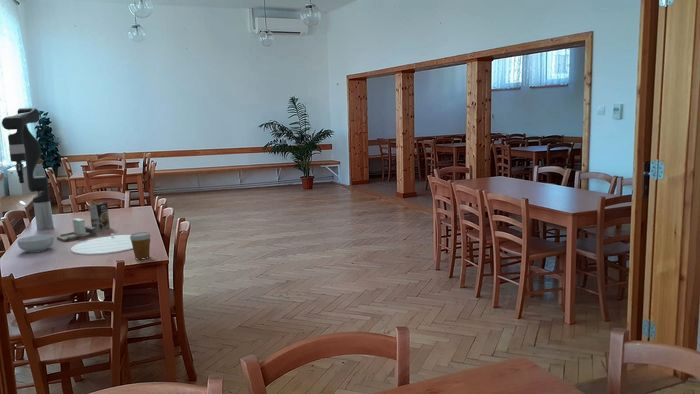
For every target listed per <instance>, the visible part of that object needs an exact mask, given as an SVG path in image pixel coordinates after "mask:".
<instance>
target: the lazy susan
mask: <svg viewBox="0 0 700 394" xmlns="http://www.w3.org/2000/svg"><path fill="white" fill-rule="evenodd" d="M130 235H131V234H122V235H121V234H120V235H119V234H118V235H115V233H112V232H111V233H110V236H103V237H97V238H92V239H89V240H81V241H79V242H78V243H76V244H74V245H73V246H72V247H71V248H70V252H71V253H72V254H75V255H80V256H101V255H109V254H117V252H118V253H122V252H121V251H124V252H126V251H125V250H128V251H131V250H130V249H132V250H133V246H132V242H131V240H130Z"/></svg>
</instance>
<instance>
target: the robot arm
mask: <svg viewBox="0 0 700 394" xmlns="http://www.w3.org/2000/svg"><path fill="white" fill-rule="evenodd" d="M40 116H41V115H40V111H39V110H38V109H37V108H36V107H21V108H18V109H17V114H14V115H10V116H5V117H3V118H2V120H1V125H2V128H3V129H5V130H8V131H11V130H13V131H14V130H16V131H15V133H10V134H8V135H7V141H8V150H9V158H10V161H11V162H12V163H13V162H15V163H16V164H15V165H14V166H15V167H14V168H15V172H16V173H17V176H18V182H19V184H24V183H25V179H24V163H22V162H25V166H26V175H27V176H26V179H27V186H28V189H29V191H30V192H42V193H41V194H39V195H37V196H35V197H33V198H32V203H33V209H34V216H35V224H36V229H37V231H46V230H50V229H53V228H54V226H55V225H54V220H53V213H52V206H51V205H52V204H51V198H50V190H49V179H48V177H47V176H46V175H37V176H34V171H35V168H36V166H37V164H38V163H39V161H40V159H41V157H42V148H41V144H40V142H39V140H38V139H37V138H36V137H35V136H34V135H33V134H32V133H31V131H30V129H29V127H28V124H34V123H37V122H39V121H40Z"/></svg>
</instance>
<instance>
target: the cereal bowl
mask: <svg viewBox="0 0 700 394" xmlns="http://www.w3.org/2000/svg"><path fill="white" fill-rule="evenodd" d="M16 242H17V246H18V248H19V249H20V250H22V251H24V252H28V253H31V254H32V253H39V252H41V253H42V252H45V251H46V250H47V249H49V248H50V247H51V246H53V244H54V242H55V236H54V235H53V234H35V235H31V236H25V237H21V238H19V239H17V241H16Z"/></svg>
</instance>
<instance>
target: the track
mask: <svg viewBox="0 0 700 394" xmlns="http://www.w3.org/2000/svg"><path fill="white" fill-rule="evenodd" d="M85 231H86V233H85V234H79V235H78V234H75V233H74V231H71V232H70V231H69V232H67V233H61V234H60V235H59V236H56V240H58V241H60V242H63V243H66V242H71V241H77V240H82V239H87V238H91V237H97V236H98V234H97V231H96V228H94V227H92V226H89V225H85Z"/></svg>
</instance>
